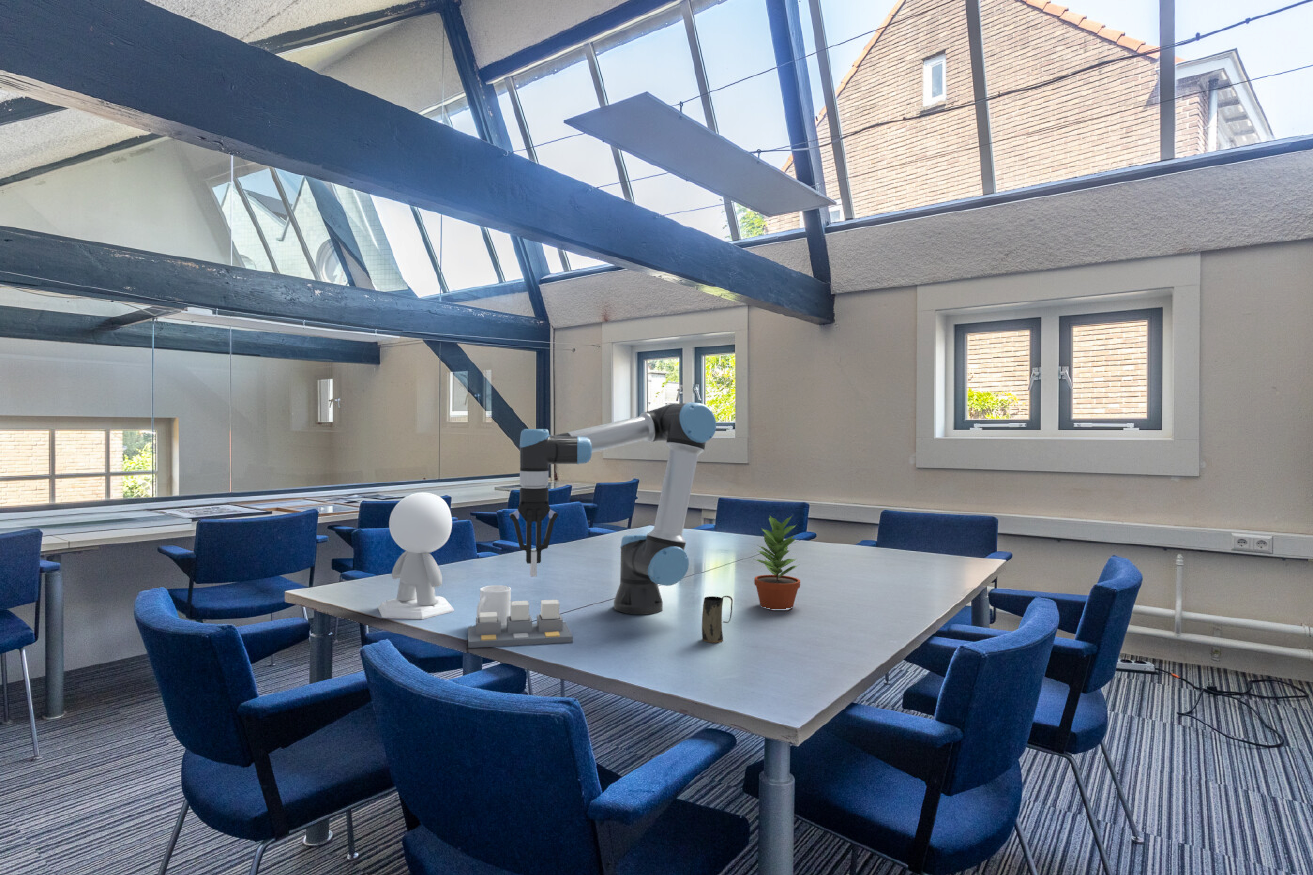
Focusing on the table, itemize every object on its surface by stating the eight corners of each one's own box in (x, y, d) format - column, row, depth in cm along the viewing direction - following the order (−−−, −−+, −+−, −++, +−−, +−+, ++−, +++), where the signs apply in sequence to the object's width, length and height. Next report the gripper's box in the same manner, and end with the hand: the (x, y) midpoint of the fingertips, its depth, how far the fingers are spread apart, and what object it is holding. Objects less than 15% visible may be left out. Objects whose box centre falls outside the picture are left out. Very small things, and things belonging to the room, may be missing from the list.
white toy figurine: (468, 607, 210) (471, 492, 210) (405, 623, 191) (408, 497, 191) (425, 598, 221) (427, 488, 221) (360, 612, 202) (363, 492, 202)
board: (565, 627, 191) (565, 611, 191) (572, 642, 178) (573, 624, 178) (468, 632, 185) (468, 615, 185) (468, 647, 171) (468, 629, 171)
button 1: (557, 614, 188) (557, 599, 188) (559, 618, 183) (559, 603, 183) (540, 615, 186) (541, 600, 186) (542, 619, 182) (542, 604, 182)
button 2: (527, 615, 185) (527, 600, 185) (528, 619, 181) (528, 604, 181) (510, 616, 184) (510, 601, 184) (511, 620, 180) (511, 605, 180)
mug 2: (699, 641, 181) (700, 596, 181) (704, 636, 187) (705, 591, 187) (728, 645, 179) (729, 599, 179) (733, 639, 184) (734, 594, 184)
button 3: (496, 627, 183) (496, 611, 183) (497, 631, 179) (497, 616, 179) (479, 627, 182) (479, 612, 182) (479, 632, 178) (479, 617, 178)
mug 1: (489, 635, 183) (490, 596, 183) (464, 630, 186) (465, 592, 186) (515, 624, 194) (516, 587, 194) (491, 620, 197) (492, 584, 197)
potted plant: (751, 600, 229) (753, 510, 229) (798, 602, 227) (800, 511, 227) (751, 611, 215) (753, 514, 215) (801, 614, 213) (803, 516, 213)
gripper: (557, 485, 189) (556, 571, 189) (508, 486, 185) (507, 573, 186) (560, 487, 182) (559, 577, 182) (509, 488, 178) (509, 579, 178)
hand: (533, 575), depth 184 cm, fingers closed
